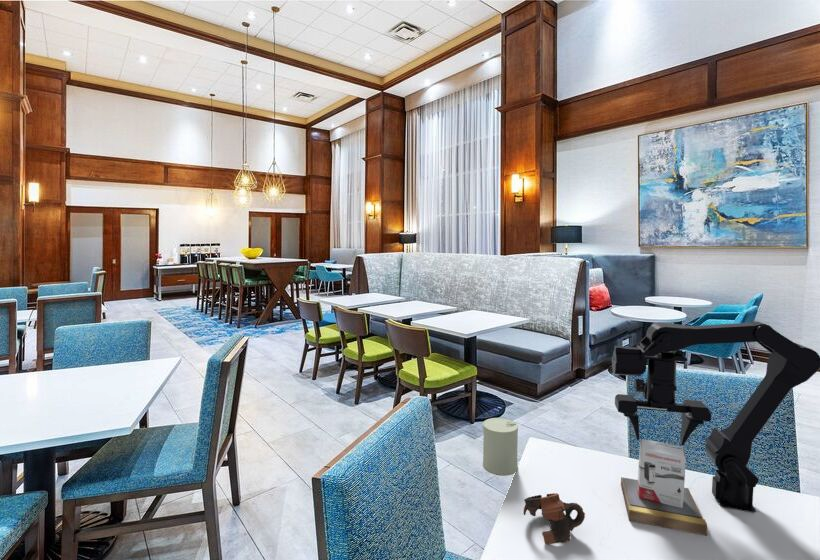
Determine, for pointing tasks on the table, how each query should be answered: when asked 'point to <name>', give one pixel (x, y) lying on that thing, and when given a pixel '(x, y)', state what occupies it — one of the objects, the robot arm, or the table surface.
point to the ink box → (661, 472)
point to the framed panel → (662, 510)
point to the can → (500, 446)
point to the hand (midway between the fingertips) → (659, 442)
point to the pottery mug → (555, 516)
